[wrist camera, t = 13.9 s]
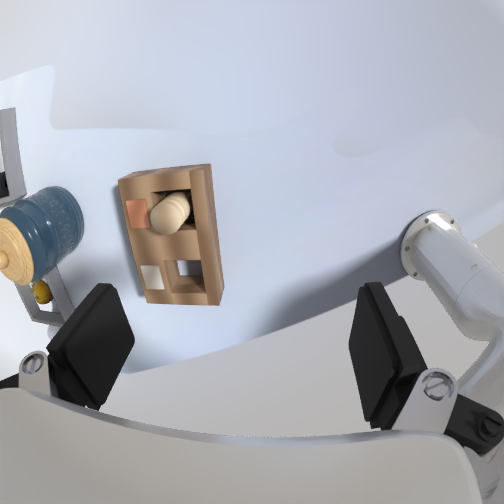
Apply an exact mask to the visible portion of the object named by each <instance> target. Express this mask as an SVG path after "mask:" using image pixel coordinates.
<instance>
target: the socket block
mask: <svg viewBox="0 0 504 504" xmlns="http://www.w3.org/2000/svg"><path fill="white" fill-rule="evenodd" d="M118 185H119V191H120V196H121V201H122V206H123V211H124V216H125V221H126V225H127V230H128V234H129V239H130V243H131V247H132V251H133V255H134V259H135V263H136V266H137V270H138V274H139V277H140V281H141V284H142V288H143V291H144V294H145V298H146V301H147V303H154V304H177V305H216V306H219V305H220V301H221V297H222V294H223V290H224V281H223V273H222V265H221V257H220V248H219V239H218V230H217V221H216V212H215V202H214V192H213V182H212V171H211V164H200V165H189V166H179V167H170V168H162V169H153V170H146V171H139V172H133V173H131V174H129V175H127V176H125V177H123V178H121V179H119V180H118ZM179 189H191V194H192V202H193V209H194V218H187V219H186V220H185V221H184V223H183V224H182V225H181V226H180V228H179V229H178V230H177V231H176V232H175V233H173V234H170V235H165V234H161V233H159V232H158V231H157V230H155V228H154V227H153V226H152V223H151V220H150V215H151V212H152V210H153V208H154V207H155V206H156V205H158V204H159V203H160V202H161V201H162V200H164V199H165V198H166V195H165V191H168V190H179ZM177 260H201V265H202V271H203V276H180V274H179V269H178V264H177Z"/></svg>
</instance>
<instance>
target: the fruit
mask: <svg viewBox="0 0 504 504" xmlns="http://www.w3.org/2000/svg"><path fill="white" fill-rule="evenodd" d="M32 283H33V284H34V285H32V287H33V288H31V292H32V293H33V295H34V297H35V299H36V301H37V302H38V303H39V304H47V303H49V302H50V301H51V300H52V299H53V296H52V295H51V290H50V287H49V286H48V284H47V283H45V282H44V281H43V280H40V281H37V282H32Z"/></svg>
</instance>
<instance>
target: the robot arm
mask: <svg viewBox="0 0 504 504" xmlns="http://www.w3.org/2000/svg"><path fill="white" fill-rule="evenodd" d="M400 256H401V262H402V265H403V267H404V269H405V270H406V272H407V273H408V274H409V275H410V276H411V277H412V278H414V279H417V280H422V281H425V282H426V283H427V284H428V286H429V287H430V288H431V290H432V291H433V293H434V294H435V295H436V297H437V298H438V299H439V301H440V302H441V304H442V305H443V307H444V308H445V310H446V311H447V312H448V314H449V315H450V317H451V318H452V320H453V321H454V323H455V325H456V326H457V328H458V329H459V330H460V332H461V333H462V334H463V335H464V336H466V337H468V338H470V339H473V340H478V341H490V342H489V344H488V346H487V348H486V349H485V350H484V351H483V353H482V354H481V356H480V357H479V358H478V359H477V360H476V361H475V362H474V363H473V365H472V366H471V367H470V368H469V369H468V370H467V371H466V372H465V373H464V374H463V375H462V376H461V377H460V378H459V379H458V380H457V381H456V379H455V377H454V376H453V375H452V374H451V373H450V372H448V371H446V370H444V369H441V368H430V369H428V368H427V366H426V363H425V361H424V359H423V357H422V355H421V352H420V350H419V348H418V346H417V344H416V342H415V340H414V338H413V336H412V334H411V332H410V330H409V328H408V326H407V324H406V322H405V320H404V318H403V317H402V316H398V314H397V312H396V310H395V308H394V306H393V304H392V302H391V300H390V298H389V296H388V294H387V293H386V291H385V289H384V287H383V285H382V283H381V282H369V283H365V284H364V287H360V288H359V293H358V299H357V304H356V309H355V315H354V319H353V324H352V329H351V334H350V339H349V351H350V355H351V359H352V363H353V368H354V372H355V376H356V381H357V385H358V390H359V394H360V399H361V404H362V409H363V414H364V418H365V421H366V422H368V421H370V425H371V429H374V428H381V431H373V432H363V433H352V434H343V435H331V436H314V437H278V438H276V437H275V438H274V437H273V438H272V437H271V438H270V437H267V438H266V437H241V436H228V435H216V434H206V433H198V432H190V431H183V430H177V429H171V428H165V427H160V426H154V425H149V424H145V423H140V422H136V421H131V420H127V419H123V418H119V417H115V416H111V415H108V414H104V413H101V412H98V411H99V409H100V407H101V405H103V404H104V403H105V402H106V400H107V397H108V395H109V393H110V391H111V389H112V387H113V385H114V383H115V381H116V379H117V377H118V375H119V373H120V371H121V369H122V367H123V365H124V363H125V361H126V359H127V357H128V355H129V353H130V351H131V349H132V347H133V345H134V342H135V338H134V335H133V332H132V330H131V327H130V325H129V322H128V319H127V317H126V314H125V312H124V309H123V306H122V303H121V301H120V298H119V295H118V292H117V290H116V288H114V287H113V285H112V284H109V283H98V284H97V285H96V286H95V287H94V288H93V289H92V291H91V292H90V293H89V294H88V295H87V296H86V298H85V299H84V300H83V301H82V302H81V304H80V305H79V306H78V307H77V308H76V310H75V311H74V312H73V313H72V315H71V316H70V317H69V318H68V319H67V321H66V322H65V323H64V325H63V326H62V327H61V328H60V330H59V331H58V332H57V334H56V335H55V336H54V337H53V339H52V340H51V341H50V343H49V344H48V345H47V347H46V349H47V350H48V352H49V355H48V356H47V355H46V354H45V353H44V352H42V351H34V352H31V353H30V354H28V355H27V356H25V357H24V359H23V360H22V361H21V363H20V366H19V373H18V374H16V375H13V376H11V377H9V378H6V379H4V380H1V381H0V504H504V272H503V271H502V270H501V269H500V268H499V267H498V266H497V265H496V264H495V263H494V262H492V261H491V260H490V259H489V258H488V257H487V256H486V255H485V254H484V253H482V252H481V251H480V250H479V249H478V248H477V244H476V242H470V241H469V240H467V239H466V238H465V237H464V236H463V235H462V232H461V228H460V225H459V223H458V221H457V220H456V219H455V218H454V217H453V216H452V215H450V214H449V213H447V212H444V211H440V210H435V211H430V212H427V213H425V214H423V215H421V216H420V217H418V218H417V219H416V220H415V221H414V222H413V223H412V224H411V226H410V227H409V228H408V230H407V232H406V233H405V235H404V238H403V240H402V244H401V251H400ZM85 405H86V406H87V407H88V408H90V409H88V408H85ZM91 409H93V410H91ZM94 410H97V411H94Z"/></svg>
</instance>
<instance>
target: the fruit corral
mask: <svg viewBox="0 0 504 504" xmlns="http://www.w3.org/2000/svg"><path fill="white" fill-rule="evenodd" d="M43 278H46V280H47V283H48V285H49V287H50V290H51V292H52V294H53V297H54V299H55V301H56V304H57V306H58V308H59V310H60V312H61V313H54V312H48V311H42V310H40V309H39V306H38V304H37V302H36V300H35V298H34V296H33V293H32V292H31V289H30V287H29V284H27V285H19V284H16V283H15V282H14V283H15V286H16V288H17V290H18V292H19V295H20V297H21V299H22V301H23V303H24V305H25V307H26V309H27V311H28V313H29V315H30V317H31V319H32V321H35V322H39V323H44V324H49V325H53V326H59V327H62V326H63V325H64V323H65V322H66V321H67V319H68V318H69V317H70V316H71V315H72V313H73V312H74V311H75V310H74V308H73V306H72V303H71V301H70V299H69V296H68V294H67V291H66V289H65V287H64V284H63V281H62V279H61V276H60V274H59V271H58V268H57V266H55V267H54V268H53V269H52V270H50V271H48V272H45V275H44V277H43Z"/></svg>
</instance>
